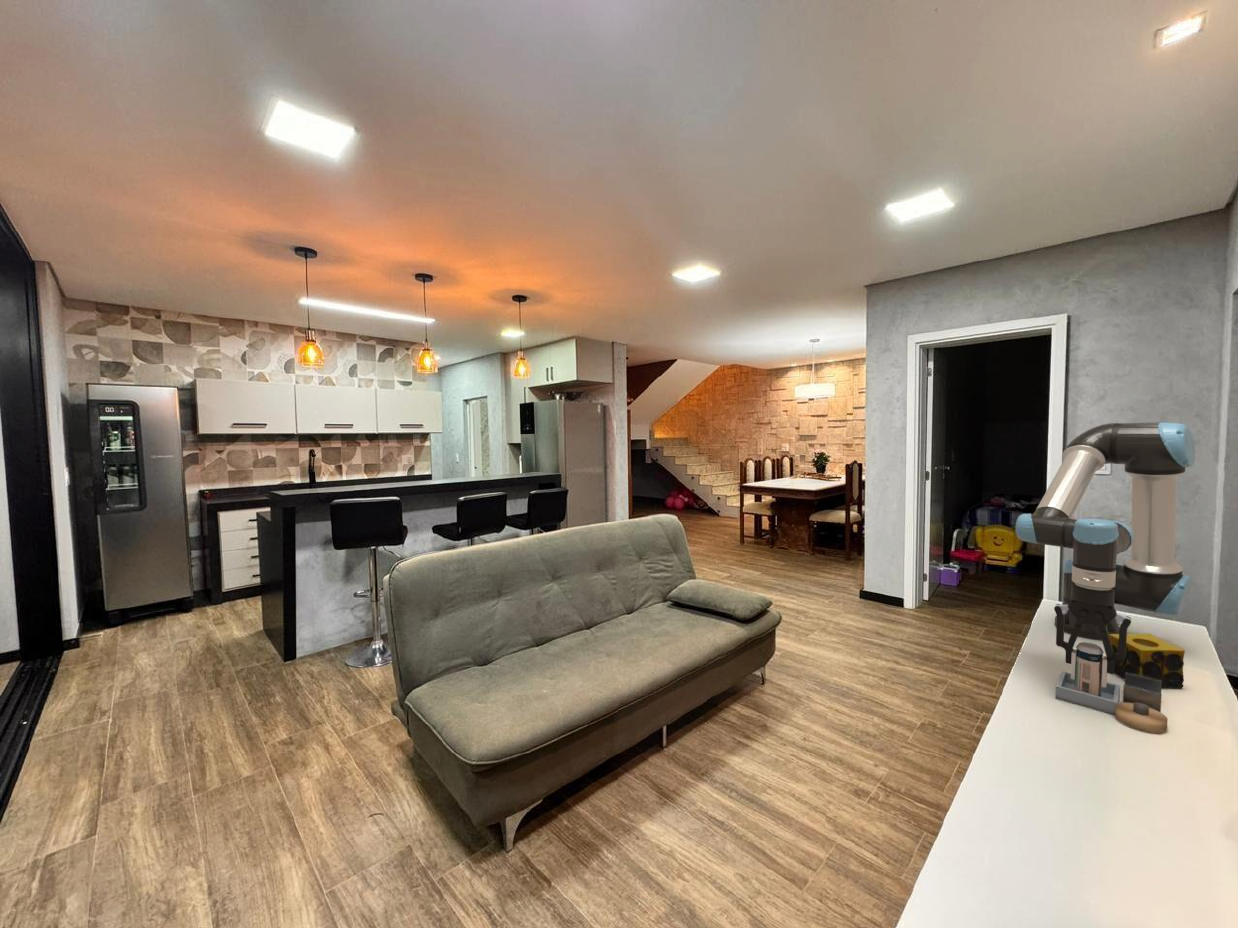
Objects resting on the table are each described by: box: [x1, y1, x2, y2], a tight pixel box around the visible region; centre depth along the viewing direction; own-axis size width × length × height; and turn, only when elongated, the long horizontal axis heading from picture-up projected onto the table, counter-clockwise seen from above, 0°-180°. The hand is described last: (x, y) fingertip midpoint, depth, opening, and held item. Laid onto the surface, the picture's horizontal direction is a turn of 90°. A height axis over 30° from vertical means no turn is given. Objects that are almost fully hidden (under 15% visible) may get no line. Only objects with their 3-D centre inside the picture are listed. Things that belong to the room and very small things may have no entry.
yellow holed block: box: [1109, 633, 1186, 690], centre depth 131 cm, size 10×10×10 cm
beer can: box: [1075, 641, 1105, 697], centre depth 123 cm, size 5×5×12 cm
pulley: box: [1114, 701, 1168, 735], centre depth 113 cm, size 8×8×4 cm
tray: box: [1055, 670, 1121, 716], centre depth 123 cm, size 11×11×3 cm
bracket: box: [1122, 672, 1162, 713], centre depth 120 cm, size 9×6×5 cm, turn 134°
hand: (1088, 680), depth 123 cm, fingers closed on beer can, 5 cm apart
